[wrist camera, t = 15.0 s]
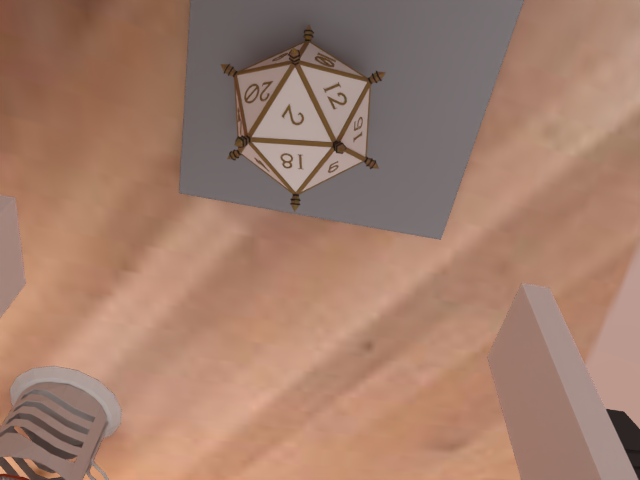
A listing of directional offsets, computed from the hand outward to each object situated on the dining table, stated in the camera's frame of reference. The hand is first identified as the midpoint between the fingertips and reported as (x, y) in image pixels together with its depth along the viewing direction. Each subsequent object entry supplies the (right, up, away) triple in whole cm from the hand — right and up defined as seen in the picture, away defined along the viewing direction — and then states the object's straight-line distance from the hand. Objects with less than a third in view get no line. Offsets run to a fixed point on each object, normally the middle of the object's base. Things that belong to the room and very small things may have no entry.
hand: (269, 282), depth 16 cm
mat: (+2, +10, +20) cm, 23 cm away
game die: (+4, +10, +19) cm, 22 cm away
